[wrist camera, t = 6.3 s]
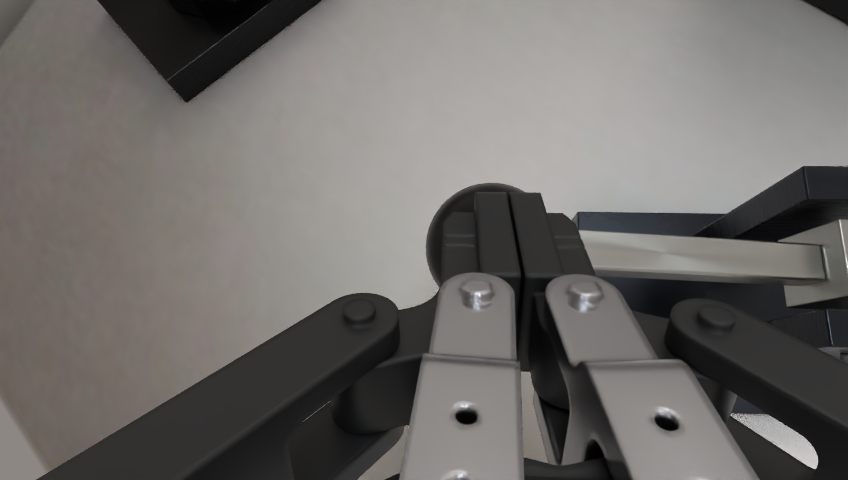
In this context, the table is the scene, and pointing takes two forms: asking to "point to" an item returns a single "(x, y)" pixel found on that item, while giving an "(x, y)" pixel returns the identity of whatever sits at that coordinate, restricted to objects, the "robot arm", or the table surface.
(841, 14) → the headphone box
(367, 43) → the table surface
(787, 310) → the black lever mount
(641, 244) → the lever
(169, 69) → the red push button panel
